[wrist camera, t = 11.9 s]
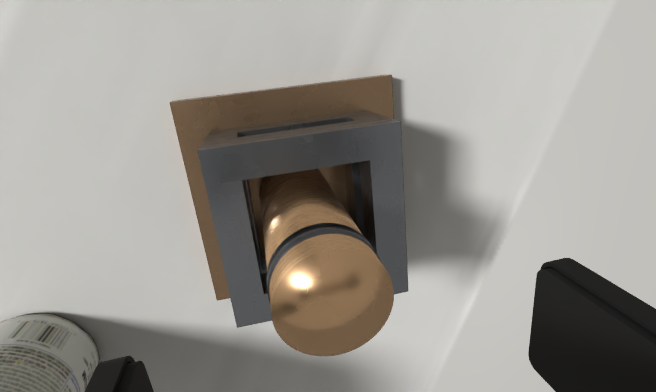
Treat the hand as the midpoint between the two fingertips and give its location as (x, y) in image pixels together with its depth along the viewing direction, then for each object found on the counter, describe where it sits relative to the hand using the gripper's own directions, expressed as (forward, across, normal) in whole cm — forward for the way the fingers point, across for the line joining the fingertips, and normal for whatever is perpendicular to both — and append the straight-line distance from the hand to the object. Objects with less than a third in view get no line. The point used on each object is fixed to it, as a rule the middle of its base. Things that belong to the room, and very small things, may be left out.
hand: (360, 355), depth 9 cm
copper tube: (+14, 0, +1) cm, 14 cm away
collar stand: (+15, -1, +1) cm, 15 cm away
